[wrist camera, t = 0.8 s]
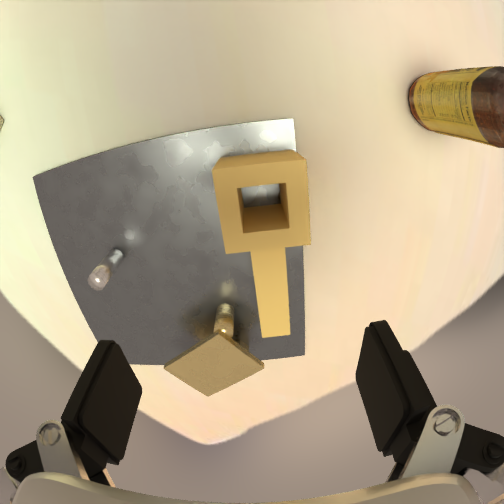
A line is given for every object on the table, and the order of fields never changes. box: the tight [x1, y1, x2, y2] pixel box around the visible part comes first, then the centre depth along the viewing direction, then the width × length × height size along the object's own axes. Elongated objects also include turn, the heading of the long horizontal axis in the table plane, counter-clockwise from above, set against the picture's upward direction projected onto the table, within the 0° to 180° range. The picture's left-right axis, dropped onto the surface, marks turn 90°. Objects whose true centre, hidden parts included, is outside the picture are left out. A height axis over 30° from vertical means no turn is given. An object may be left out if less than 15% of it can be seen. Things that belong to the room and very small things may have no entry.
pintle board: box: [33, 118, 305, 396], centre depth 28 cm, size 29×28×6 cm
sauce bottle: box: [409, 66, 504, 148], centre depth 13 cm, size 7×6×20 cm
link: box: [212, 150, 311, 338], centre depth 25 cm, size 18×6×6 cm, turn 7°
